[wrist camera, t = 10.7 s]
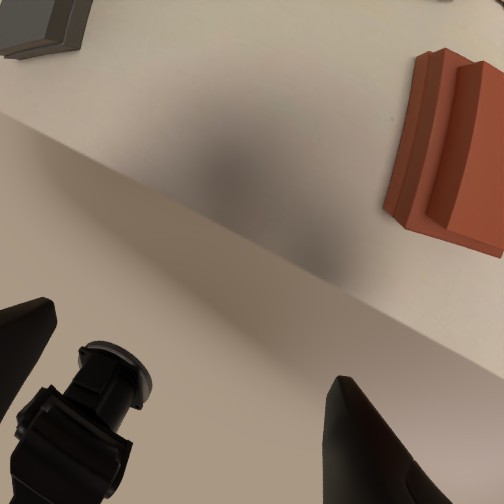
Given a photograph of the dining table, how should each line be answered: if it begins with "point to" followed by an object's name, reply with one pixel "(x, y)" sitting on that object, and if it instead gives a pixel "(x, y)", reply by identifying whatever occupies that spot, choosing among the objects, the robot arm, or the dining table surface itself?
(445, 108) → the rust books
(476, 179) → the rust red rectangular block
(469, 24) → the dining table surface
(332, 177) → the dining table surface
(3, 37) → the grey books
